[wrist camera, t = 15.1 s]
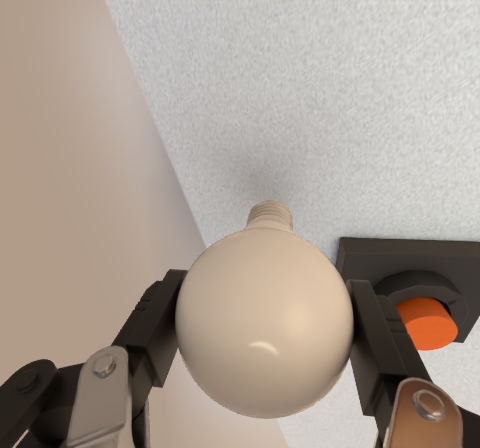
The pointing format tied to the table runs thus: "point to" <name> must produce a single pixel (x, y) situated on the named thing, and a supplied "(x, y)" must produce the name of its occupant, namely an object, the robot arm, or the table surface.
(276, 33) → the table surface
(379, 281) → the housing
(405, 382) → the robot arm
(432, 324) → the button
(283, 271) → the lightbulb
